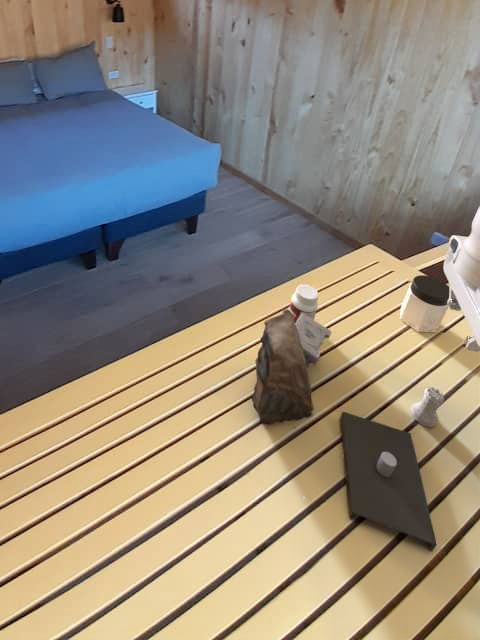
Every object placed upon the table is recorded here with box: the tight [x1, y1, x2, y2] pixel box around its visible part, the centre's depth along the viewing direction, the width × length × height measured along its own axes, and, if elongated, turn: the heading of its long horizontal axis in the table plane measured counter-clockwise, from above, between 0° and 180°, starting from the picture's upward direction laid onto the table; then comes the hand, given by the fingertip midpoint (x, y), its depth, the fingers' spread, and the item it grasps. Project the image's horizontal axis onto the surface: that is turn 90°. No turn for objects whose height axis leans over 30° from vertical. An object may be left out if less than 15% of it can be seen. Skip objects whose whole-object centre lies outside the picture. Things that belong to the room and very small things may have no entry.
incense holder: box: [295, 314, 332, 370], centre depth 93 cm, size 10×8×10 cm
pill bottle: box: [288, 284, 319, 323], centre depth 103 cm, size 6×6×11 cm
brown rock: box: [251, 308, 315, 426], centre depth 84 cm, size 13×13×20 cm
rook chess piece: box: [410, 386, 445, 428], centre depth 82 cm, size 4×4×8 cm
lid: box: [339, 411, 438, 552], centre depth 73 cm, size 12×18×6 cm, turn 158°
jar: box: [399, 274, 450, 333], centre depth 103 cm, size 9×8×12 cm
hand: (461, 326), depth 73 cm, fingers open, 8 cm apart
